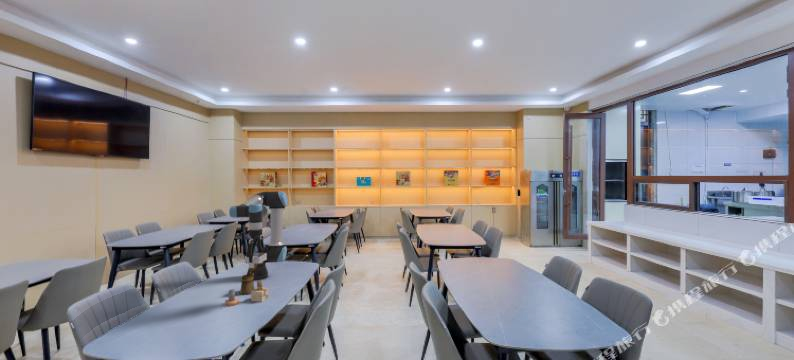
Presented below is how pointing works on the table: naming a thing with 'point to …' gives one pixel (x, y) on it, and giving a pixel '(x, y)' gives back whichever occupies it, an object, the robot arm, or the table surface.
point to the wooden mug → (248, 281)
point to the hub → (231, 299)
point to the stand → (259, 293)
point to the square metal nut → (257, 258)
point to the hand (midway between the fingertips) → (255, 265)
